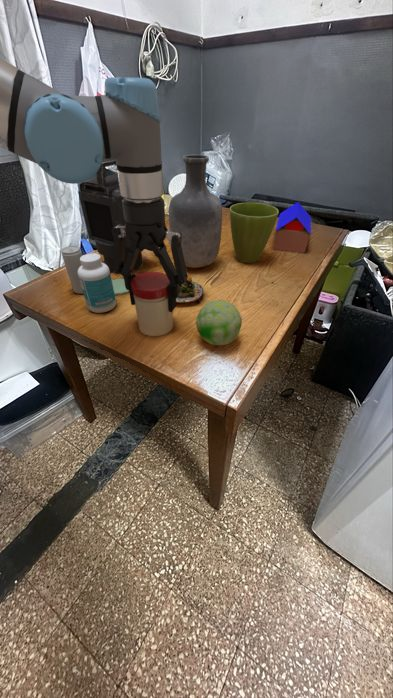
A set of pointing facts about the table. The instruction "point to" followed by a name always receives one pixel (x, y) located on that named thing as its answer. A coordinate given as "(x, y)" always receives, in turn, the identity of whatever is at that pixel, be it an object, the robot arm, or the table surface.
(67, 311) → the table surface
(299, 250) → the house
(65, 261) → the beverage can
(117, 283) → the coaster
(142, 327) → the jar
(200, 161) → the vase
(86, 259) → the pill bottle
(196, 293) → the plate of food
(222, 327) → the decorative ball
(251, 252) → the flower pot
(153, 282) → the jar lid
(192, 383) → the table surface
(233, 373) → the table surface
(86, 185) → the lantern
